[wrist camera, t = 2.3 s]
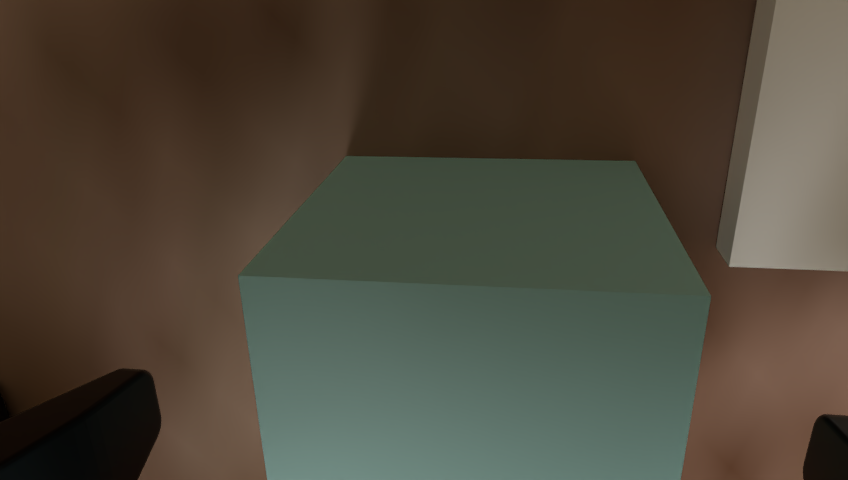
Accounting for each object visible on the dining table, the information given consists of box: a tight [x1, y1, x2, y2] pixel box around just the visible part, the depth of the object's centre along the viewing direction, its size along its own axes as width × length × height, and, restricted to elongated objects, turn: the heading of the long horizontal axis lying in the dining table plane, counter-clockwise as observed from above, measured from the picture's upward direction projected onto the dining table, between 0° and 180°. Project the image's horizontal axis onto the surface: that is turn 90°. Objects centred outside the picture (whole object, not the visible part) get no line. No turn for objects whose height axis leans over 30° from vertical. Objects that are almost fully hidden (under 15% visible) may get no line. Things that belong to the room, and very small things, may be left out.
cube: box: [238, 156, 711, 480], centre depth 10 cm, size 5×5×5 cm
